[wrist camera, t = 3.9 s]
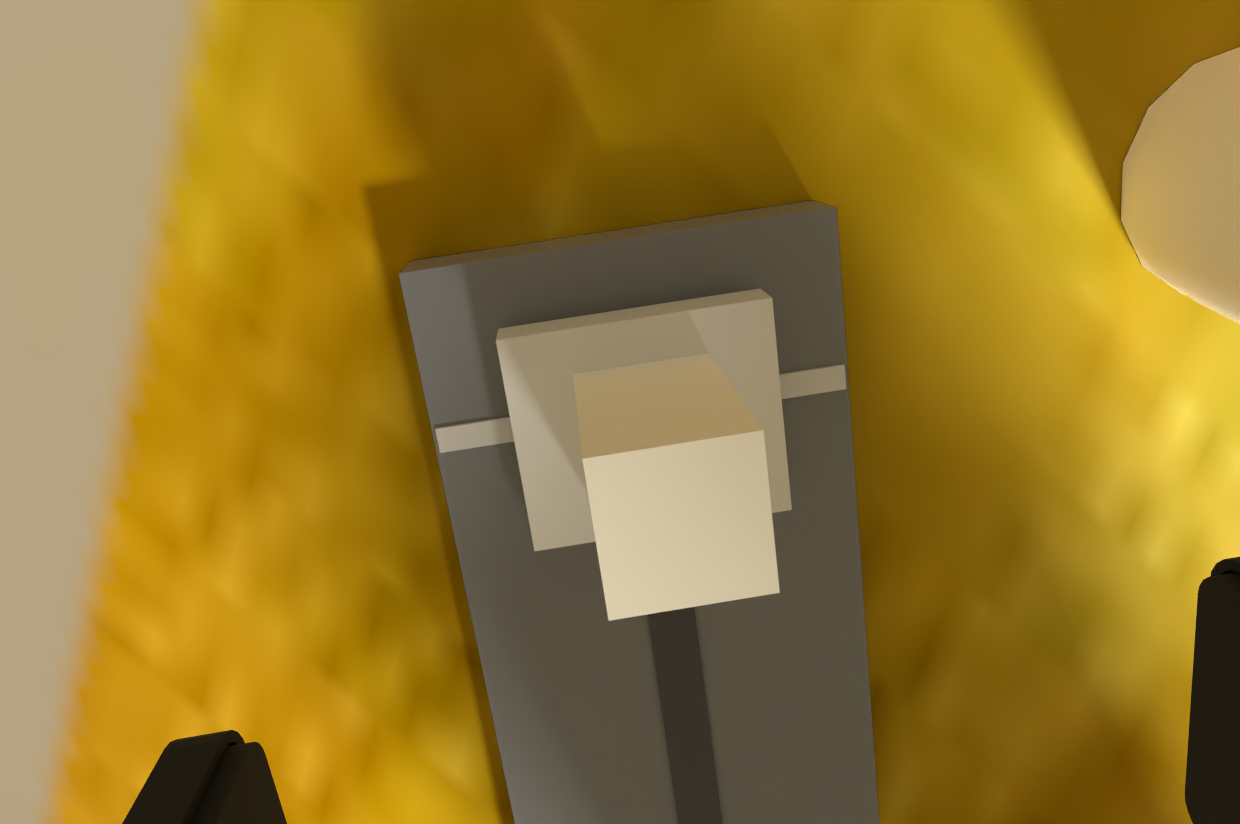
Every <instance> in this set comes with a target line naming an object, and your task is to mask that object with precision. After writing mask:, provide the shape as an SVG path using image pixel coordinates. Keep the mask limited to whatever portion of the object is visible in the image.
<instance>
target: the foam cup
mask: <svg viewBox="0 0 1240 824" xmlns="http://www.w3.org/2000/svg"><path fill="white" fill-rule="evenodd" d="M1121 222H1122V224H1123V226H1124V228H1125V230H1126V232H1127V234H1128V237H1129V239H1130V241H1131V243H1132V245H1133V247H1134V250H1135V252H1136V254H1137V256H1138V258H1139V260H1140V263H1141V265H1142V267H1144V268H1145V269H1147V270H1148V271H1150V272H1151V273H1153V274H1154V275H1155V276H1157V277H1158V278H1160V279H1161V280H1163V281H1164V282H1165V283H1167V284H1168V285H1170V286H1171V287H1173V288H1174V289H1176V290H1177V291H1178V292H1180V293H1181V294H1184V295H1187V296H1188V297H1190V298H1191V299H1193V300H1194V301H1196V302H1197V303H1199V304H1201V305H1203V306H1205V307H1207V308H1209V309H1211V310H1213V311H1215V312H1217V313H1219V314H1221V315H1223V316H1225V317H1227V318H1229V319H1231V320H1233V321H1235V322H1237V323H1239V324H1240V47H1238V48H1235V49H1232V50H1230V51H1227V52H1225V53H1222V54H1219V55H1217V56H1214V57H1211V58H1209V59H1206V60H1203V61H1201V62H1198V63H1195V64H1193V65H1192V66H1191V67H1190V68H1189V69H1188V70H1187V71H1186V72H1185V73H1184V74H1183V75H1182V76H1181V77H1180V78H1179V79H1178V80H1177V81H1176V82H1175V83H1174V84H1172V85H1171V86H1170V87H1169V88H1168V89H1167V90H1166V91H1165V92H1164V93H1163V94H1162V95H1161V96H1160V97H1159V98H1158V99H1157V100H1156V101H1155V102H1154V103H1153V104H1152V105H1151V106H1150V107H1149V108H1148V110H1147V112H1146V114H1145V116H1144V118H1143V120H1142V123H1141V125H1140V127H1139V129H1138V131H1137V134H1136V136H1135V138H1134V140H1133V142H1132V144H1131V147H1130V149H1129V151H1128V153H1127V155H1126V158H1125V160H1124V162H1123V170H1122V202H1121Z"/></svg>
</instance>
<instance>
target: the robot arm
mask: <svg viewBox="0 0 1240 824" xmlns="http://www.w3.org/2000/svg"><path fill="white" fill-rule="evenodd" d="M1185 801H1186V805H1187V810H1188V812H1189V815H1190V817H1191V820H1192V822H1193V823H1194V824H1240V557H1236V558H1230V559H1224V560H1222V561H1220V562H1218V563H1217V564H1216V565H1215V567H1214V568H1213V570H1212V572H1211V576H1210V577H1208V578H1206V579H1204V580H1203V581H1202V583H1201V584H1200V586H1199V591H1198V602H1197V617H1196V632H1195V647H1194V663H1193V678H1192V693H1191V708H1190V723H1189V739H1188V754H1187V769H1186V784H1185ZM122 824H287V822H286V819H285V816H284V813H283V810H282V806H281V803H280V800H279V797H278V794H277V790H276V787H275V784H274V781H273V778H272V774H271V771H270V768H269V765H268V762H267V758H266V755H265V753H264V750H263V748H262V747H261V745H260V744H259V743H257V742H251V743H244V740H243V738H242V737H241V736H240V734H239V733H238V732H236V731H234V730H229V731H223V732H217V733H212V734H206V735H200V736H194V737H188V738H183V739H177V740H174V741H172V742H170V743H169V744H168V745H167V747H166V748H165V749H164V751H163V753H162V754H161V756H160V758H159V760H158V761H157V763H156V765H155V767H154V768H153V770H152V772H151V774H150V776H149V777H148V779H147V781H146V783H145V784H144V786H143V788H142V790H141V792H140V793H139V795H138V797H137V799H136V800H135V802H134V804H133V806H132V807H131V809H130V811H129V813H128V815H127V816H126V818H125V820H124V822H123V823H122Z"/></svg>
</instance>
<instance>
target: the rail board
mask: <svg viewBox="0 0 1240 824" xmlns="http://www.w3.org/2000/svg"><path fill="white" fill-rule="evenodd" d="M399 278H400V283H401V287H402V292H403V297H404V302H405V306H406V311H407V316H408V321H409V325H410V330H411V335H412V339H413V344H414V349H415V354H416V358H417V363H418V368H419V373H420V377H421V382H422V387H423V391H424V396H425V401H426V406H427V410H428V415H429V420H430V425H431V429H432V434H433V439H434V444H435V448H436V453H437V458H438V462H439V467H440V472H441V477H442V481H443V486H444V491H445V496H446V500H447V505H448V510H449V515H450V519H451V524H452V529H453V533H454V538H455V543H456V548H457V552H458V557H459V562H460V567H461V571H462V576H463V581H464V586H465V590H466V595H467V600H468V604H469V609H470V614H471V619H472V623H473V628H474V633H475V638H476V642H477V647H478V652H479V656H480V661H481V666H482V671H483V675H484V680H485V685H486V690H487V694H488V699H489V704H490V709H491V713H492V718H493V723H494V727H495V732H496V737H497V742H498V746H499V751H500V756H501V761H502V765H503V770H504V775H505V780H506V784H507V789H508V794H509V798H510V803H511V808H512V813H513V817H514V822H515V824H879V811H878V796H877V782H876V768H875V753H874V739H873V724H872V710H871V696H870V681H869V667H868V652H867V638H866V624H865V609H864V595H863V581H862V566H861V552H860V537H859V523H858V509H857V494H856V480H855V465H854V451H853V437H852V422H851V408H850V393H849V379H848V365H847V350H846V336H845V322H844V307H843V293H842V278H841V264H840V250H839V235H838V221H837V207H834V206H831V205H827V204H824V203H821V202H817V201H814V200H811V201H804V202H797V203H791V204H784V205H778V206H771V207H764V208H758V209H751V210H744V211H738V212H731V213H725V214H718V215H711V216H705V217H698V218H691V219H685V220H678V221H672V222H665V223H658V224H652V225H645V226H639V227H632V228H625V229H619V230H612V231H605V232H599V233H592V234H586V235H579V236H572V237H566V238H559V239H552V240H546V241H539V242H533V243H526V244H519V245H513V246H506V247H499V248H493V249H486V250H480V251H473V252H466V253H460V254H453V255H446V256H440V257H433V258H427V259H420V260H413V261H410V262H409V263H408V264H407V265H406V266H405V267H404V268H403V269H402V270H401V271H400V273H399ZM759 288H760V289H762V290H763V291H764V292H765V293H767V294H768V295H769V296H771V297H772V301H773V311H774V322H775V333H776V344H777V355H778V366H779V376H780V387H781V398H782V409H783V420H784V431H785V441H786V452H787V463H788V474H789V485H790V496H791V506H792V510H788V511H782V512H775V513H772V520H773V530H774V540H775V550H776V560H777V570H778V580H779V590H780V593H775V594H769V595H763V596H757V597H750V598H744V599H738V600H732V601H726V602H720V603H714V604H708V605H702V606H696V607H690V608H684V609H677V610H671V611H665V612H659V613H653V614H647V615H641V616H635V617H629V618H623V619H617V620H611V621H609V620H608V614H607V608H606V602H605V596H604V590H603V583H602V577H601V571H600V565H599V559H598V553H597V546H596V542H590V543H584V544H577V545H571V546H565V547H559V548H553V549H547V550H540V551H534V546H533V540H532V535H531V529H530V524H529V518H528V513H527V508H526V502H525V497H524V491H523V486H522V480H521V475H520V470H519V464H518V459H517V453H516V448H515V442H514V437H513V431H512V426H511V421H510V415H509V410H508V404H507V399H506V393H505V388H504V383H503V377H502V372H501V366H500V361H499V355H498V350H497V345H496V337H497V332H498V329H499V328H506V327H512V326H519V325H525V324H532V323H538V322H545V321H551V320H558V319H564V318H571V317H577V316H584V315H590V314H597V313H603V312H610V311H616V310H623V309H629V308H636V307H642V306H649V305H655V304H662V303H668V302H675V301H681V300H688V299H694V298H701V297H707V296H714V295H720V294H727V293H733V292H740V291H746V290H753V289H759Z"/></svg>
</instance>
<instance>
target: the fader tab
mask: <svg viewBox="0 0 1240 824" xmlns="http://www.w3.org/2000/svg"><path fill="white" fill-rule="evenodd" d="M496 345H497V350H498V355H499V361H500V366H501V372H502V377H503V383H504V388H505V393H506V399H507V404H508V410H509V415H510V421H511V426H512V431H513V437H514V442H515V448H516V453H517V459H518V464H519V470H520V475H521V480H522V486H523V491H524V497H525V502H526V508H527V513H528V518H529V524H530V529H531V535H532V540H533V546H534V551H540V550H547V549H553V548H559V547H565V546H571V545H577V544H584V543H590V542H596V546H597V553H598V559H599V565H600V571H601V577H602V583H603V590H604V596H605V602H606V608H607V614H608V620H609V621H611V620H617V619H623V618H629V617H635V616H641V615H647V614H653V613H659V612H665V611H671V610H677V609H684V608H690V607H696V606H702V605H708V604H714V603H720V602H726V601H732V600H738V599H744V598H750V597H757V596H763V595H769V594H775V593H780V590H779V580H778V570H777V560H776V550H775V540H774V530H773V520H772V513H775V512H782V511H788V510H792V506H791V496H790V485H789V474H788V463H787V452H786V441H785V431H784V420H783V409H782V398H781V387H780V376H779V366H778V355H777V344H776V333H775V322H774V311H773V301H772V297H771V296H769V295H768V294H767V293H765V292H764V291H763V290H762V289H760V288H759V289H753V290H746V291H740V292H733V293H727V294H720V295H714V296H707V297H701V298H694V299H688V300H681V301H675V302H668V303H662V304H655V305H649V306H642V307H636V308H629V309H623V310H616V311H610V312H603V313H597V314H590V315H584V316H577V317H571V318H564V319H558V320H551V321H545V322H538V323H532V324H525V325H519V326H512V327H506V328H499V329H498V332H497V337H496Z"/></svg>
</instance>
